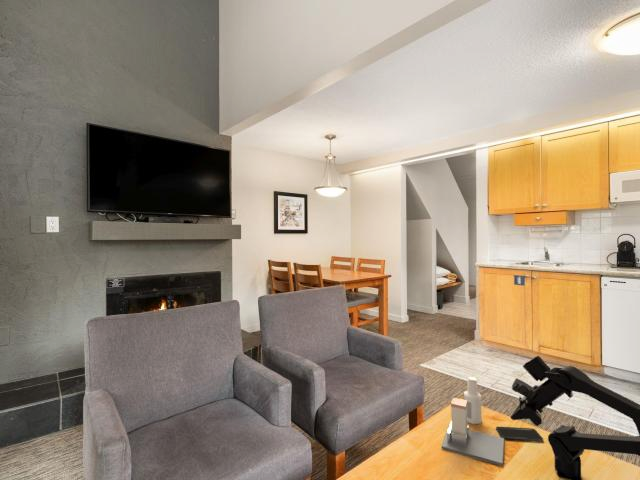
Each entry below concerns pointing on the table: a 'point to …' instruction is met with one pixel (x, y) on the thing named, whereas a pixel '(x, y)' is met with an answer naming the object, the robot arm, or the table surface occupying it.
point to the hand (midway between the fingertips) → (511, 418)
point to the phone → (519, 434)
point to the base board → (479, 447)
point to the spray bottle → (473, 402)
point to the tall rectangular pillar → (459, 416)
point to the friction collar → (457, 437)
